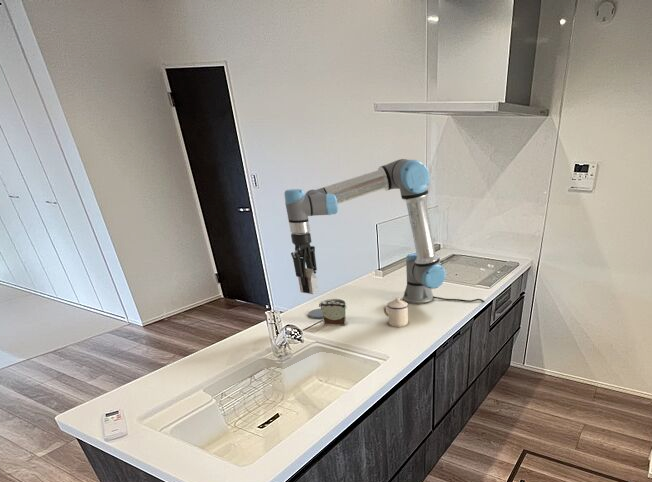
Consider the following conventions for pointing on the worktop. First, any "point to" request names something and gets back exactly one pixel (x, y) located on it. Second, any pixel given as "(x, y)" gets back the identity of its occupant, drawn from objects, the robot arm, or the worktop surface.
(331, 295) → the worktop surface
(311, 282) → the tea bag
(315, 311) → the saucer
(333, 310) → the food container
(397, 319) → the teacup with lid
